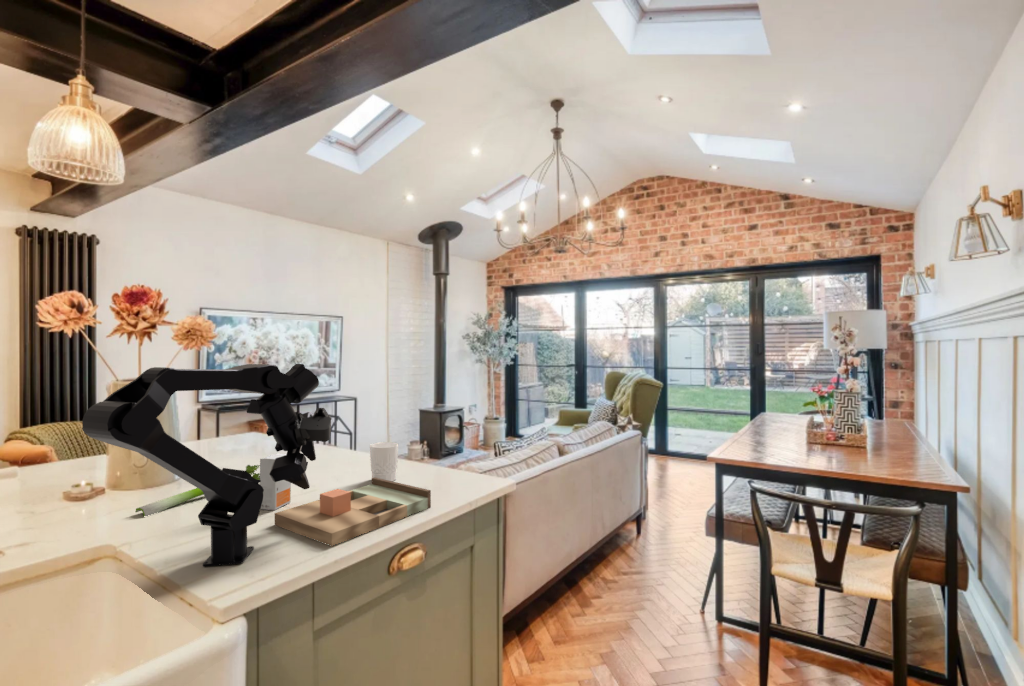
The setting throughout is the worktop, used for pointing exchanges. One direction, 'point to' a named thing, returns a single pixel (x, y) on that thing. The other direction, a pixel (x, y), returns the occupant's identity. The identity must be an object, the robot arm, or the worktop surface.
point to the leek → (183, 496)
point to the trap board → (356, 512)
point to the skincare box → (273, 486)
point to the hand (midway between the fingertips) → (310, 473)
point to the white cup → (384, 460)
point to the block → (335, 502)
